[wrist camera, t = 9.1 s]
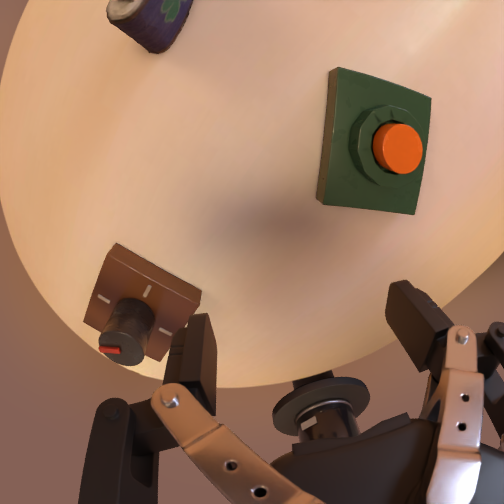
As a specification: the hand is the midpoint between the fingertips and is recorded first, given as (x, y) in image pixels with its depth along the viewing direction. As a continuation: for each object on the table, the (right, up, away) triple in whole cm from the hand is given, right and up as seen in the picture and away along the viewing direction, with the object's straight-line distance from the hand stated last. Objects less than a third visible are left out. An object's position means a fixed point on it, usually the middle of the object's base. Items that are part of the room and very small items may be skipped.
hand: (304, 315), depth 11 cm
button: (+9, +11, +8) cm, 17 cm away
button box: (+9, +13, +11) cm, 19 cm away
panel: (-14, -3, +17) cm, 22 cm away
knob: (-14, -4, +14) cm, 21 cm away
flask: (-9, +23, +5) cm, 26 cm away
